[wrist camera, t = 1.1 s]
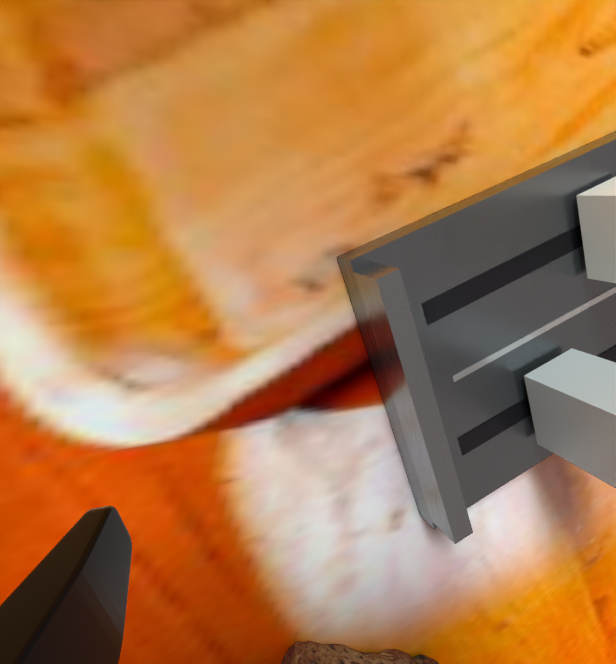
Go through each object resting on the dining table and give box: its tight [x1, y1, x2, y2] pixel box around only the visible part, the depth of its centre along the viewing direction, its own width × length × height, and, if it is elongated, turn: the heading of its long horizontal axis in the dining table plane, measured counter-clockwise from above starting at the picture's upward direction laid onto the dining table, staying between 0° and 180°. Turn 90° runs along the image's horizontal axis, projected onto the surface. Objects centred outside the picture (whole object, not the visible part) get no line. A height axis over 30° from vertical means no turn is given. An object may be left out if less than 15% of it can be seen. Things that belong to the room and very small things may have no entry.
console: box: [337, 131, 616, 544], centre depth 25 cm, size 20×14×3 cm
